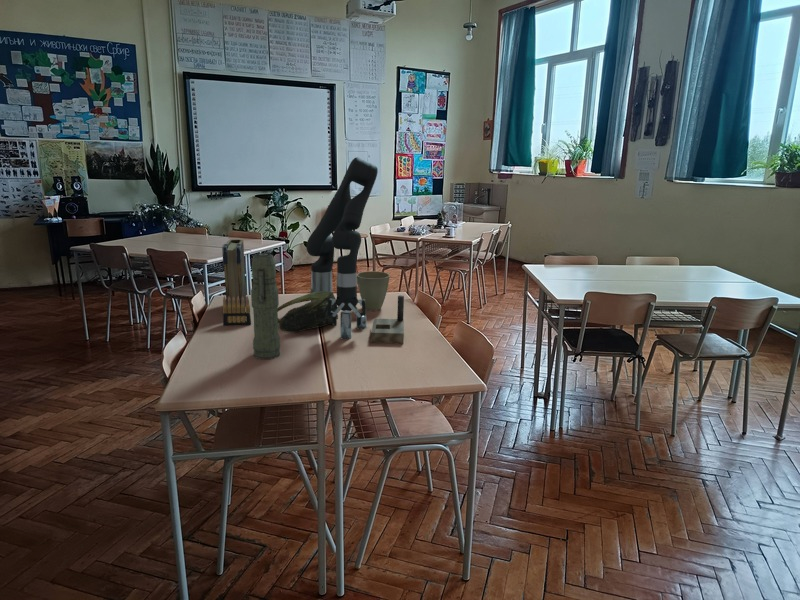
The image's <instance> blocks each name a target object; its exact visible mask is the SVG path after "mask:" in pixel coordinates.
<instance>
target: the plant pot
mask: <svg viewBox="0 0 800 600" xmlns="http://www.w3.org/2000/svg"><path fill="white" fill-rule="evenodd" d="M356 275H357V288H358V291H359V295H360V300H362V299H365V303H366V309H367V310H366V311H369V310H377V311H380V310H381V309H382V308H383V305H384V301H385V300H386V295H387V293H388V287H389V283H390V275H391V274H390V273H388V272H385V271H384V272H383V271H374V270H373V271H370V270H369V271H360V272H358V273H356Z"/></svg>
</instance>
